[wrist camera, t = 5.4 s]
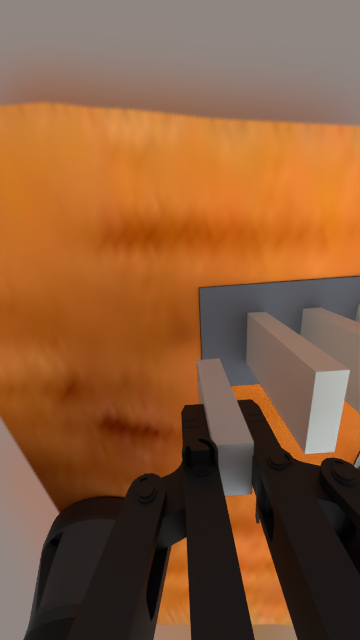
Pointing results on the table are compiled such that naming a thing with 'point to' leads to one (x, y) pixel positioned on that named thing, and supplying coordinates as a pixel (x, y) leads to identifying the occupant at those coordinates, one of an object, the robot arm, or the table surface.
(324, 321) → the domino
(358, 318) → the domino
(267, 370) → the domino
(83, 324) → the table surface
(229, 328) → the mat
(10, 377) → the table surface
